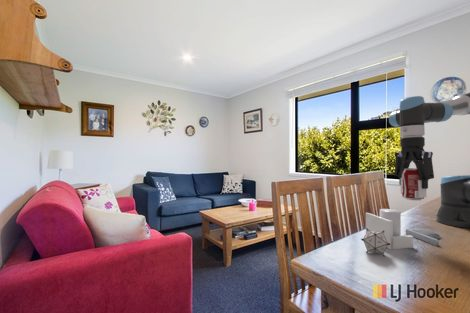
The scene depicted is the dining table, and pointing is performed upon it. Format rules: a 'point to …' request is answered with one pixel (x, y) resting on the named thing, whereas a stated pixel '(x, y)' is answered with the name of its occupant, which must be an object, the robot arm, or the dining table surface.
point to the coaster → (428, 233)
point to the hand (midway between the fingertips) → (413, 195)
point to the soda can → (410, 184)
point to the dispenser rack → (394, 229)
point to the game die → (375, 242)
